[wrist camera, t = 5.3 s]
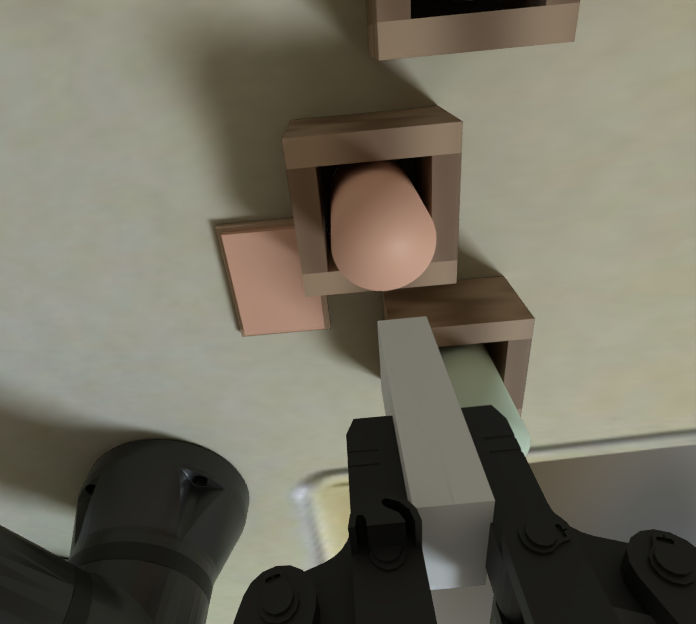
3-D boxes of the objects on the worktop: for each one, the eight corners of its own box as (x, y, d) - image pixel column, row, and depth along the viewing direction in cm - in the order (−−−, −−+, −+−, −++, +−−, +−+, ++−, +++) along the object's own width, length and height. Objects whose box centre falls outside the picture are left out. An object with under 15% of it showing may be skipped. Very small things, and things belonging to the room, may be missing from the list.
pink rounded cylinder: (334, 230, 31) (336, 295, 23) (326, 153, 28) (325, 197, 21) (409, 223, 31) (435, 286, 23) (407, 146, 28) (437, 187, 21)
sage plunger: (416, 384, 35) (440, 482, 27) (415, 329, 33) (442, 420, 25) (482, 378, 35) (525, 475, 27) (486, 323, 33) (535, 412, 25)
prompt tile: (242, 333, 36) (240, 340, 35) (216, 224, 31) (213, 230, 31) (330, 325, 36) (330, 332, 35) (317, 215, 31) (316, 220, 30)
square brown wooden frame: (386, 382, 39) (395, 435, 34) (381, 287, 34) (391, 331, 29) (494, 372, 39) (519, 424, 34) (503, 276, 34) (534, 318, 29)
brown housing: (309, 256, 33) (305, 297, 28) (290, 120, 28) (281, 138, 23) (436, 244, 33) (456, 283, 28) (438, 106, 28) (462, 121, 23)
